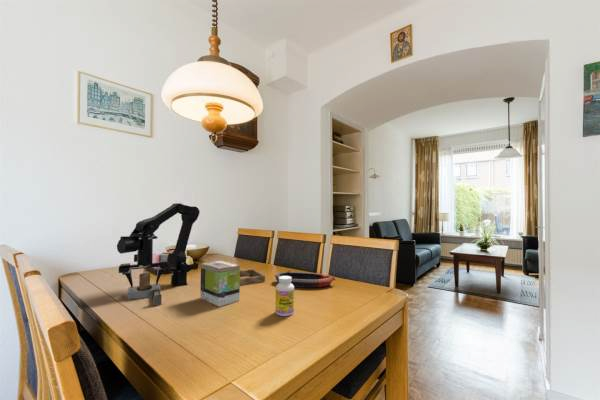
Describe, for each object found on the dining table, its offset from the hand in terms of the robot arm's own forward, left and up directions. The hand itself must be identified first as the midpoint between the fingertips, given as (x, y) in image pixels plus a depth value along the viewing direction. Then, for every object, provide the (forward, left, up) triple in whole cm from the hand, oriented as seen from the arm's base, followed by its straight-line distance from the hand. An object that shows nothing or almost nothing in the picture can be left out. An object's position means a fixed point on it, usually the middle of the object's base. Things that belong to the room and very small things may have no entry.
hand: (144, 286), depth 117 cm
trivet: (-45, -2, -4) cm, 45 cm away
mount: (0, 0, -4) cm, 4 cm away
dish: (-69, +20, -4) cm, 72 cm away
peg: (0, 0, -4) cm, 4 cm away
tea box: (-27, +22, -4) cm, 35 cm away
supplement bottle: (-44, +48, -4) cm, 65 cm away
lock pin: (-4, +11, -4) cm, 12 cm away
